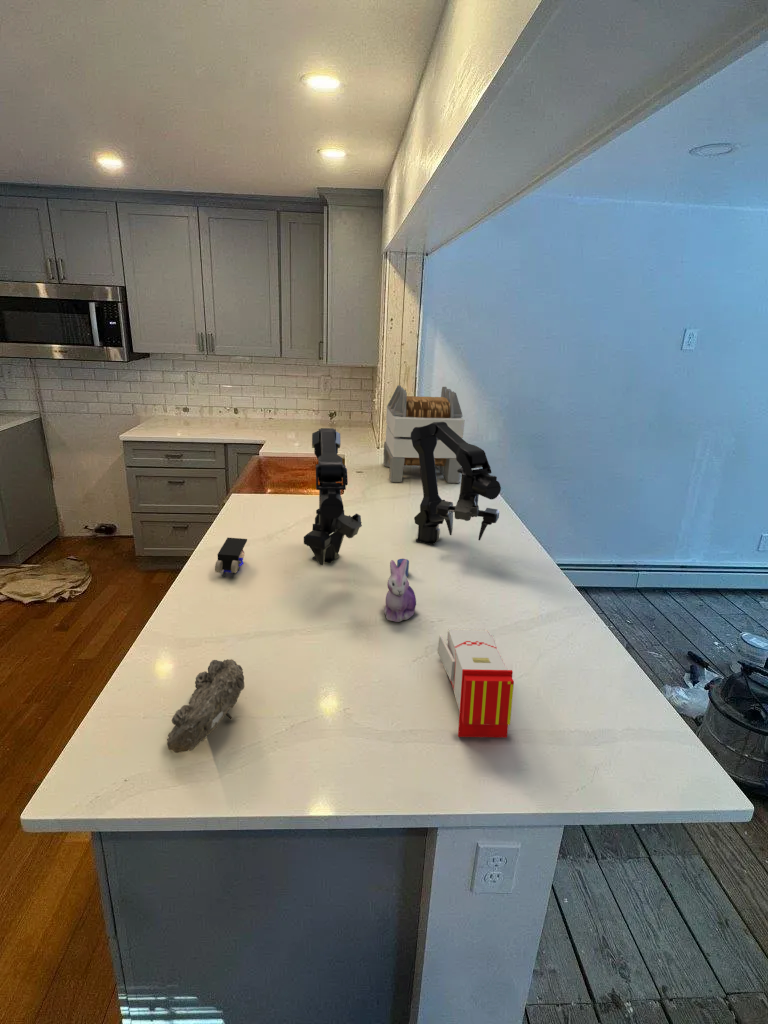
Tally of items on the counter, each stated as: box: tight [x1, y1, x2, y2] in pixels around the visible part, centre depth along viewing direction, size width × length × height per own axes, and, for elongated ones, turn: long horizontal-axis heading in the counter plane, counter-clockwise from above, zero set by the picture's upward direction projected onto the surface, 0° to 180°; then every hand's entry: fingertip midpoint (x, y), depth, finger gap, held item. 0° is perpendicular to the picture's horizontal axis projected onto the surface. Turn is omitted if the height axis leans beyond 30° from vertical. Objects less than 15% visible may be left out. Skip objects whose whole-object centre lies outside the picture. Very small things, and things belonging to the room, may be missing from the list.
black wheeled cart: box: [214, 537, 248, 578], centre depth 166 cm, size 7×8×15 cm
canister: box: [396, 558, 410, 578], centre depth 169 cm, size 4×4×4 cm
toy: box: [437, 628, 515, 738], centre depth 117 cm, size 12×13×30 cm
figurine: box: [384, 558, 417, 623], centre depth 145 cm, size 9×10×15 cm
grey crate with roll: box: [383, 384, 465, 484], centre depth 268 cm, size 34×33×41 cm
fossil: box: [166, 658, 245, 754], centre depth 106 cm, size 22×10×15 cm
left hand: (329, 558), depth 157 cm, fingers open, 9 cm apart
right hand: (465, 537), depth 178 cm, fingers open, 9 cm apart
